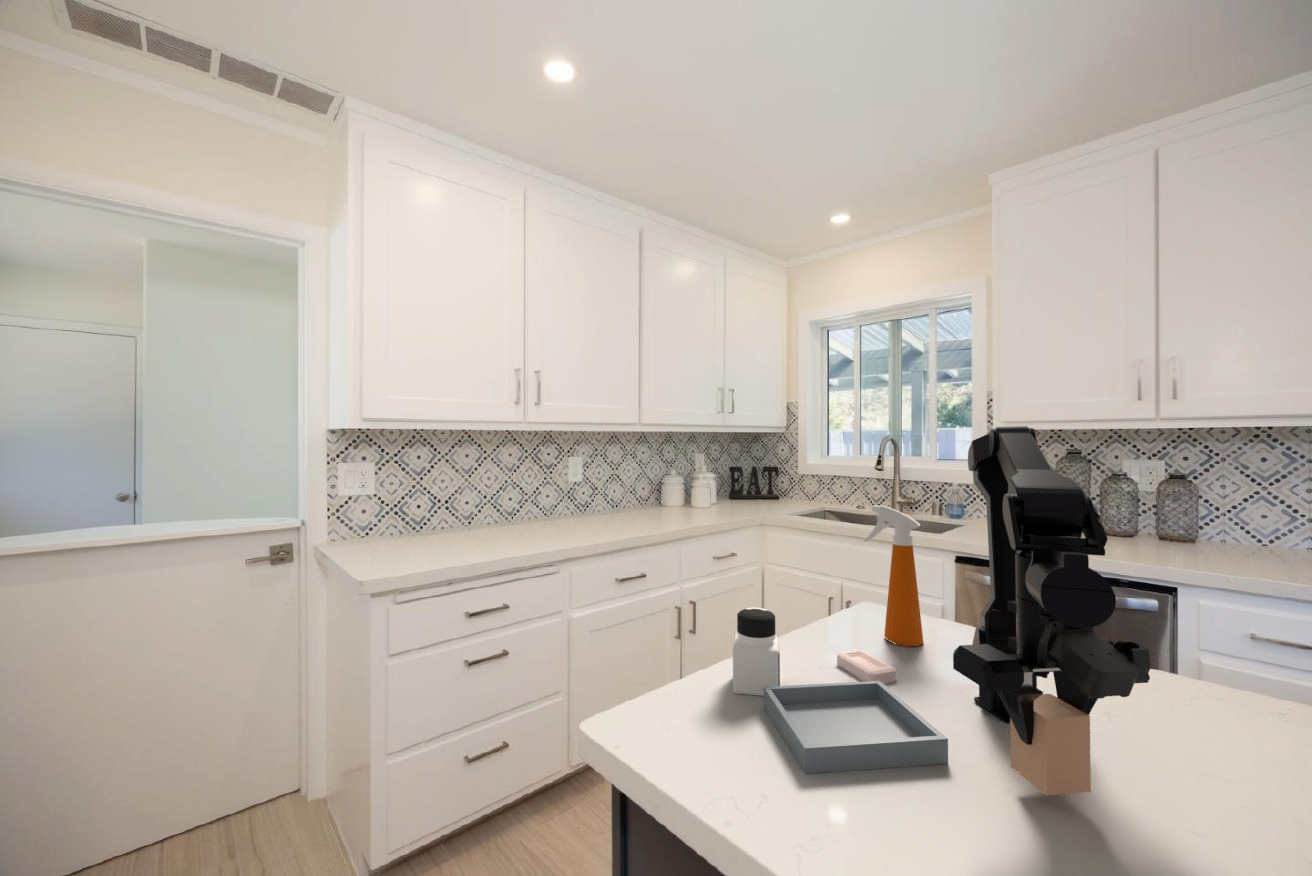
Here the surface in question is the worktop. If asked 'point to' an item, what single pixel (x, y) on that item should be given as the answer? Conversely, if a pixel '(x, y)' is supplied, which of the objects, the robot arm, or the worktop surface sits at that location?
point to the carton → (1055, 748)
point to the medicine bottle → (755, 652)
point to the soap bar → (866, 666)
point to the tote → (852, 727)
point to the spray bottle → (900, 579)
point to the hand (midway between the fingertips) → (1048, 741)
